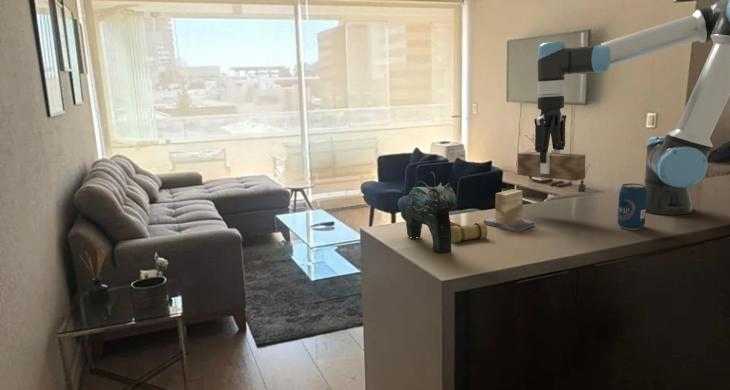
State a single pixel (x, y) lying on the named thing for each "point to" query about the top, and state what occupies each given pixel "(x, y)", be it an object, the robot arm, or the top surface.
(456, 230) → the gavel
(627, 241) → the top surface
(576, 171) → the walnut beam
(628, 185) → the soda can
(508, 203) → the fulcrum
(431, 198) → the ceramic cat
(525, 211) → the top surface
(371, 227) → the top surface
